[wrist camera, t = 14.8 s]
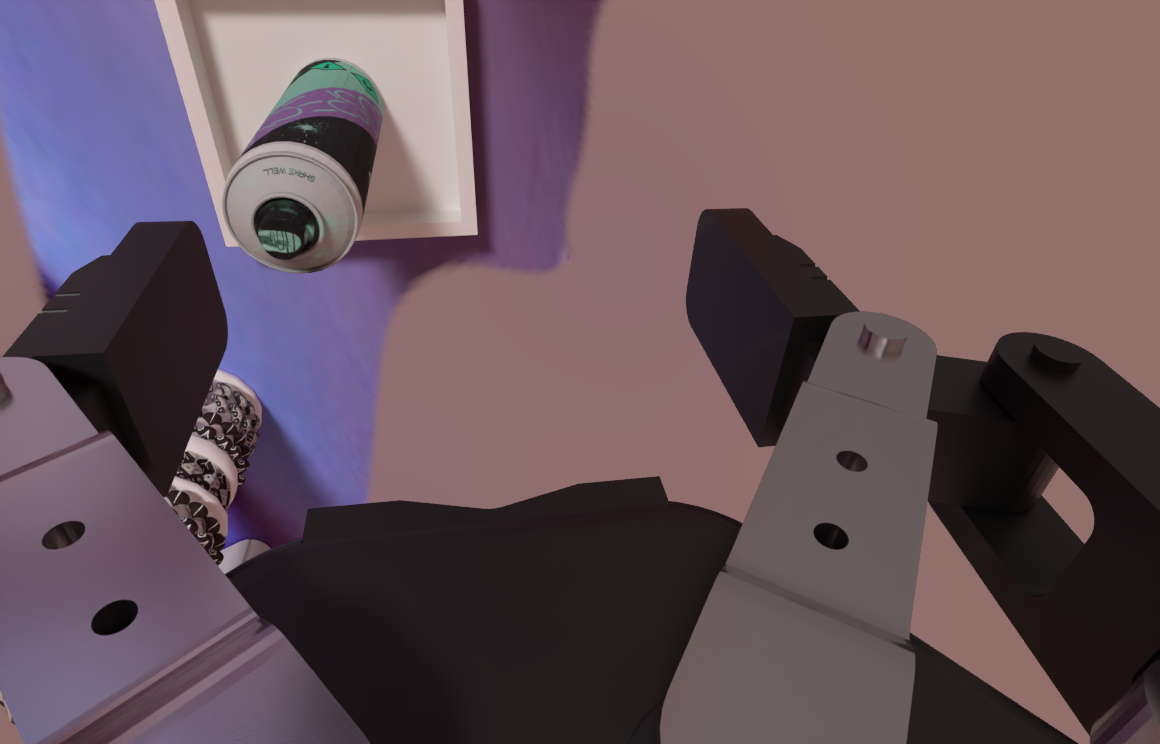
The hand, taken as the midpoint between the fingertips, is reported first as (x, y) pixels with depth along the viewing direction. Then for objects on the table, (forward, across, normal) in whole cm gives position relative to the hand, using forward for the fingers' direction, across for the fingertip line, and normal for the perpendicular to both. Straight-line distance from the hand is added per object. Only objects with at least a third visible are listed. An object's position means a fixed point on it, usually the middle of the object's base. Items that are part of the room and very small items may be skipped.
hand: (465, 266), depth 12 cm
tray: (+36, +6, +8) cm, 38 cm away
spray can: (+36, +6, +7) cm, 37 cm away
